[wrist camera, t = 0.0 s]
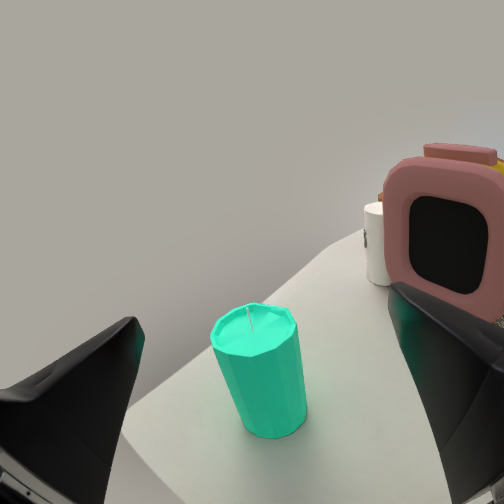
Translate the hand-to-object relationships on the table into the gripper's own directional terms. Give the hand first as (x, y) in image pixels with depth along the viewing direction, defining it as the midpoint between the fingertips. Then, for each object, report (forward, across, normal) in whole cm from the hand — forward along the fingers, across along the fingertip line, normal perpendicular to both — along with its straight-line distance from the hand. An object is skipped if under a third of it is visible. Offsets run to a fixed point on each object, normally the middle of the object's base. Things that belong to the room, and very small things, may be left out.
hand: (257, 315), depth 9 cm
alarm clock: (+20, -22, +17) cm, 34 cm away
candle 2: (+29, -15, +17) cm, 36 cm away
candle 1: (+8, +2, +17) cm, 19 cm away
